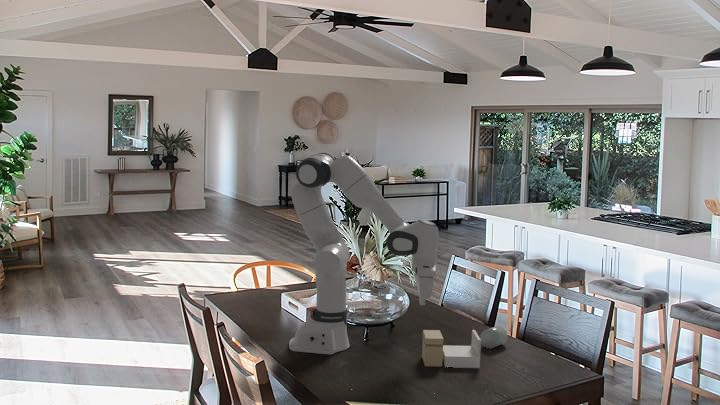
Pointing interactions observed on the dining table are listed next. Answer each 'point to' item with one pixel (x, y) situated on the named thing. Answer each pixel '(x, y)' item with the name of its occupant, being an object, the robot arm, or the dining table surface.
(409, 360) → the dining table surface
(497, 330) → the grey rounded stone
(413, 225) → the robot arm
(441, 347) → the carton
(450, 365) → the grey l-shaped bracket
